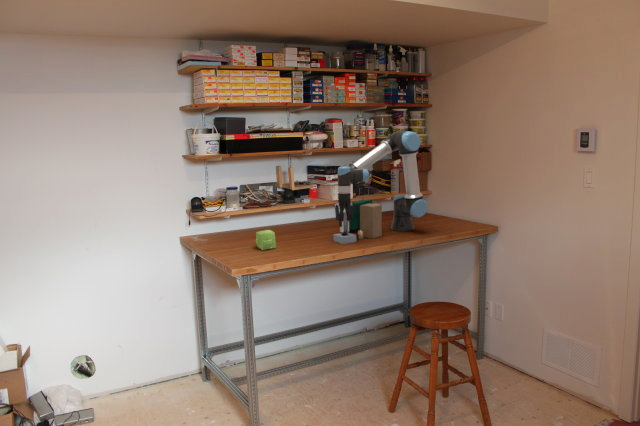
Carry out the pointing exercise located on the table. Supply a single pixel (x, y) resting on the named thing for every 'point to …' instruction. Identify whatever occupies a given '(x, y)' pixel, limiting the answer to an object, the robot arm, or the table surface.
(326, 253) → the table surface
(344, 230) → the long pin
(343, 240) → the grey flat block
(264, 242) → the green block
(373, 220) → the wooden block
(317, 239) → the table surface
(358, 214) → the power tool
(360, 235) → the short pin
